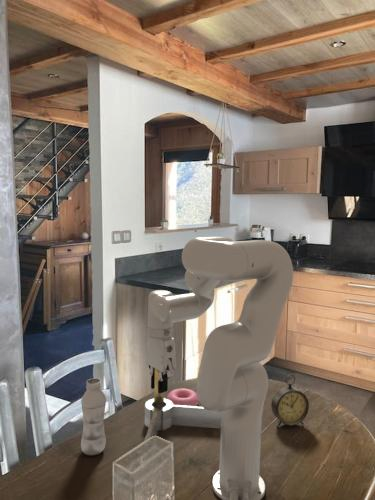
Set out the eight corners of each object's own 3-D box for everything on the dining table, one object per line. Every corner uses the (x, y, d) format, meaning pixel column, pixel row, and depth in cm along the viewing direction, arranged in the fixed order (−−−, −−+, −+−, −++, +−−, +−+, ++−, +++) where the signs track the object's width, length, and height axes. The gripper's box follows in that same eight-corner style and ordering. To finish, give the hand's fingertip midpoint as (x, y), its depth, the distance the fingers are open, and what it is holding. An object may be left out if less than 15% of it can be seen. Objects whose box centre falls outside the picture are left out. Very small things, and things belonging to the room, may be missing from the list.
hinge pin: (163, 404, 125) (163, 370, 123) (153, 404, 125) (153, 369, 124) (164, 400, 128) (165, 366, 126) (155, 399, 128) (155, 365, 127)
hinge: (221, 469, 106) (222, 447, 105) (129, 461, 108) (130, 439, 107) (223, 420, 129) (223, 402, 129) (148, 414, 132) (148, 397, 131)
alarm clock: (275, 431, 124) (278, 379, 122) (268, 421, 129) (270, 372, 127) (308, 427, 127) (311, 376, 125) (299, 418, 132) (302, 369, 130)
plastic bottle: (76, 450, 112) (76, 380, 110) (99, 441, 116) (99, 373, 114) (87, 462, 107) (87, 388, 105) (110, 452, 111) (110, 382, 109)
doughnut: (173, 394, 146) (173, 383, 146) (203, 400, 143) (203, 389, 142) (161, 409, 136) (161, 397, 136) (192, 415, 132) (193, 403, 132)
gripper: (187, 336, 120) (185, 396, 122) (155, 323, 132) (154, 377, 135) (166, 341, 115) (164, 403, 117) (135, 326, 128) (134, 383, 130)
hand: (159, 389), depth 126 cm, fingers closed on hinge pin, 3 cm apart
